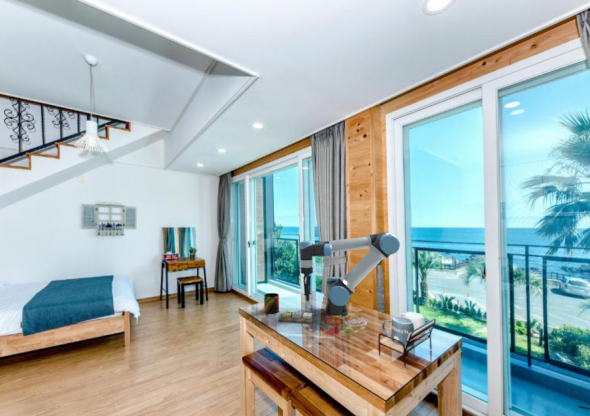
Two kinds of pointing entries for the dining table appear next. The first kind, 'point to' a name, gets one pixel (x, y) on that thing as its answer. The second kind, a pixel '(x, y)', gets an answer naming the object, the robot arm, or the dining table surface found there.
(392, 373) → the dining table surface
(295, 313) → the two-dot tile
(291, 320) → the board
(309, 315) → the tile
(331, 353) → the dining table surface
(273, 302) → the mug
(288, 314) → the tile
